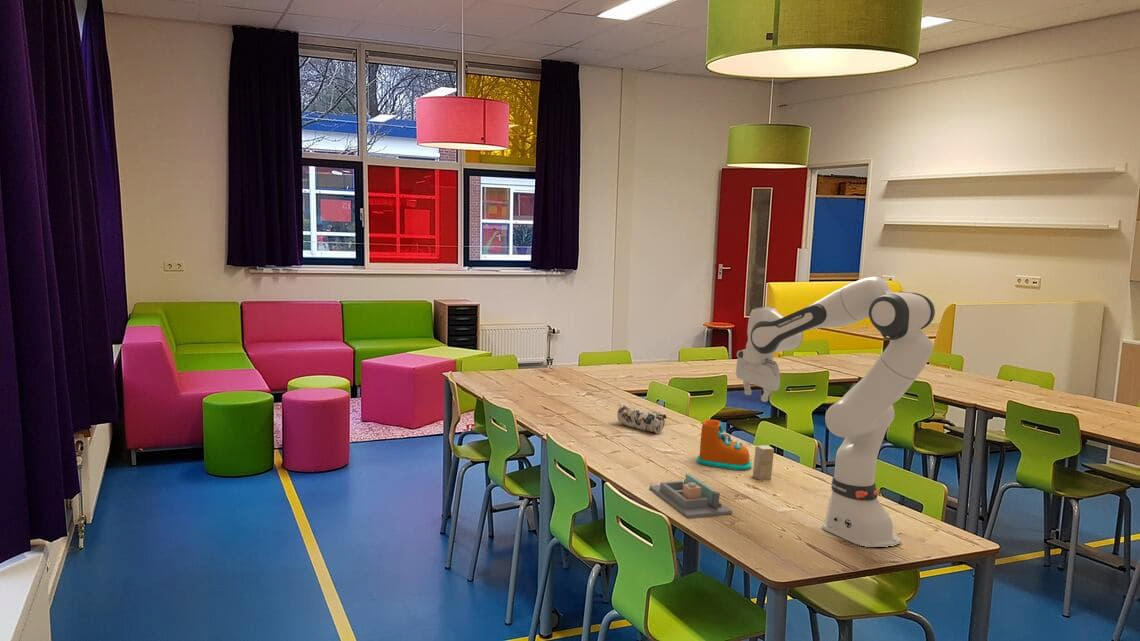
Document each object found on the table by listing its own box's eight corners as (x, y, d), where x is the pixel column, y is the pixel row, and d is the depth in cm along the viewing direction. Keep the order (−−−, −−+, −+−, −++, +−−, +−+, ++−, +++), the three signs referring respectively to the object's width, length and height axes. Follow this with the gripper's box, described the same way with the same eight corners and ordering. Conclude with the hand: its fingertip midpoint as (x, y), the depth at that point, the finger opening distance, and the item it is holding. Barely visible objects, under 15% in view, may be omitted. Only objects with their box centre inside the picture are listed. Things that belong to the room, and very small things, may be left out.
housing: (731, 514, 236) (733, 495, 235) (687, 518, 230) (689, 499, 230) (690, 485, 260) (691, 468, 259) (649, 488, 255) (650, 471, 254)
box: (758, 480, 269) (760, 448, 268) (752, 475, 273) (754, 445, 272) (771, 479, 270) (774, 448, 269) (765, 475, 275) (768, 444, 273)
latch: (714, 505, 238) (716, 491, 238) (711, 505, 238) (712, 491, 237) (688, 486, 254) (689, 473, 254) (684, 486, 254) (685, 473, 253)
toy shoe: (749, 472, 277) (753, 431, 275) (694, 465, 283) (697, 424, 281) (752, 463, 288) (756, 424, 286) (699, 456, 294) (702, 417, 292)
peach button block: (700, 503, 239) (701, 485, 239) (688, 504, 238) (689, 486, 237) (693, 498, 243) (694, 481, 242) (682, 499, 242) (683, 481, 241)
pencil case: (666, 432, 325) (668, 409, 324) (654, 436, 319) (656, 412, 318) (625, 421, 340) (627, 399, 338) (613, 424, 333) (614, 402, 332)
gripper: (786, 362, 244) (782, 405, 246) (750, 350, 263) (747, 390, 265) (769, 362, 242) (765, 405, 244) (734, 351, 261) (731, 391, 263)
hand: (755, 397), depth 254 cm, fingers open, 8 cm apart
